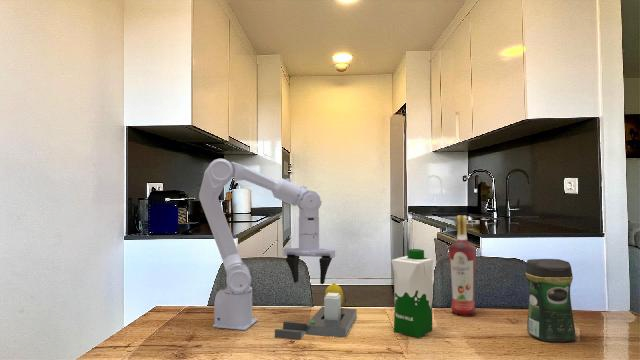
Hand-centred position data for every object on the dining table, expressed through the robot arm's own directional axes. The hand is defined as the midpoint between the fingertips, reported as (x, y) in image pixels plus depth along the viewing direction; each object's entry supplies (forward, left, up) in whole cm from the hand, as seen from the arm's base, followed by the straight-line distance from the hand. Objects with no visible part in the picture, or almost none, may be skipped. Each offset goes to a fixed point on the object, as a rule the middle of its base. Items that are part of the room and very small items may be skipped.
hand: (309, 282), depth 107 cm
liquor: (+42, +15, -10) cm, 46 cm away
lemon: (+5, +9, -10) cm, 14 cm away
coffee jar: (+60, +1, -10) cm, 61 cm away
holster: (-1, -12, -10) cm, 16 cm away
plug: (+8, -4, -10) cm, 13 cm away
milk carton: (+28, -3, -10) cm, 30 cm away
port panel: (+8, -4, -10) cm, 13 cm away
